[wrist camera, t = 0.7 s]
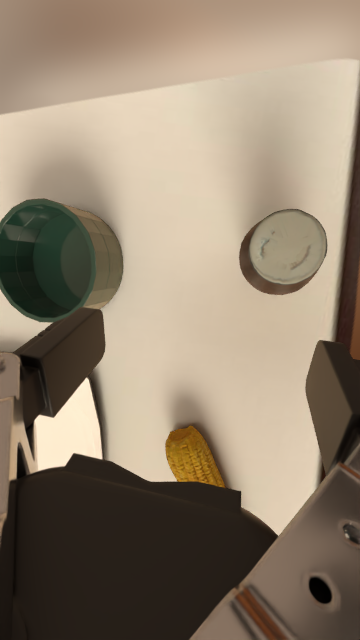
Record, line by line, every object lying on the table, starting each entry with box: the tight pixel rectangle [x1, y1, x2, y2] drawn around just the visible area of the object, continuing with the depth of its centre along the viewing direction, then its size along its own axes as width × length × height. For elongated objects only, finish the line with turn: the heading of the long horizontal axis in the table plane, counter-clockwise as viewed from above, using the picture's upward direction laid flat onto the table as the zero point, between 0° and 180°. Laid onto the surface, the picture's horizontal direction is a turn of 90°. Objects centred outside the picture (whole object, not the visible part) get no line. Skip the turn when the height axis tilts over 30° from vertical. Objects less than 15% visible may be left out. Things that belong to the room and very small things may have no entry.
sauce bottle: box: [239, 209, 327, 295], centre depth 25 cm, size 6×6×20 cm
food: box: [165, 426, 225, 488], centre depth 39 cm, size 21×6×6 cm, turn 24°
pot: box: [0, 199, 123, 323], centre depth 38 cm, size 14×14×7 cm
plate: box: [35, 376, 104, 471], centre depth 48 cm, size 29×29×3 cm
